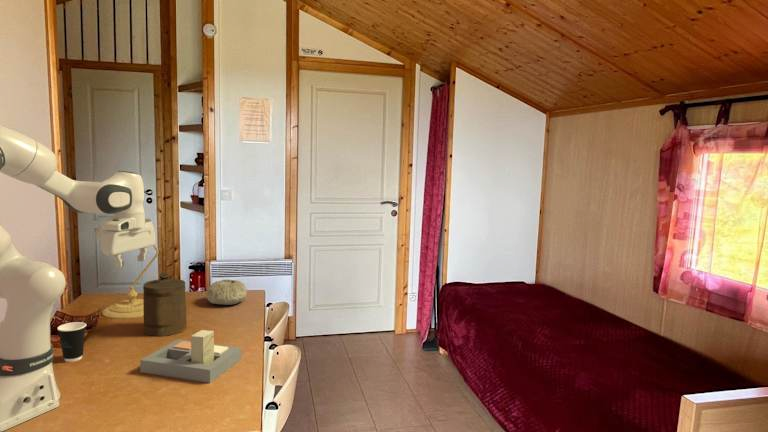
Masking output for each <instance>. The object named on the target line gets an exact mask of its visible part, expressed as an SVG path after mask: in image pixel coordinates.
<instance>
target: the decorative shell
mask: <svg viewBox="0 0 768 432" xmlns="http://www.w3.org/2000/svg"><path fill="white" fill-rule="evenodd" d="M247 293H248V288H246V285H245V283H242V282H241V281H240V280H237V279H222V280H219V281H217V280H216V281H215V282H212V283H211V284H210V285H209V287H207V288H206V291H205V298H206V300H207V301H209V302H210V303H211V304H215V305H224V306H230V305H231V306H233V305H237V304H238V303H241V302H243V300H244V299H246V296H247Z"/></svg>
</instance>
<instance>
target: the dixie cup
mask: <svg viewBox="0 0 768 432" xmlns="http://www.w3.org/2000/svg"><path fill="white" fill-rule="evenodd" d="M86 327H87V323H85V322H81V321H74V322H67V323H63V324H60V325H59V326H58V327H57V329H56V330H57V331H58V336H59V341H60V346H61V352H62V356H63V359H64V361H65V363H67V362H68V363H69V362H71V363H72V362H76V361H77V362H78V361H80V360H81V359H82V358H83V355H84V349H85V338H86V337H85V335H86Z"/></svg>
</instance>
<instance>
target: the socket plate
mask: <svg viewBox="0 0 768 432" xmlns="http://www.w3.org/2000/svg"><path fill="white" fill-rule="evenodd" d="M241 360H242V347H241V346H234V345H233V346H231V345H224V344H218V343H217V344H216V343H214V361H213V362H212V363H210V364H209V365H208V364H201V363H194V362H191V340H187V339H180V338H178V339H175V340H173V341H172V342H169V343H168V344H166V345H165V346H162V347H161V348H159V349H158V350H156V351H154V352H152V353H150V354H148V355H147V356H145V357H143V358H141V359H139V362H140V364H139V366H140V369H139V370H140V373H144V374H149V375H157V376H163V377H169V378H175V379H180V380H181V379H182V380H188V381H196V382H202V383H207V384H211V383H212V382H213V381H215V380H216V379H217V378H219V377H220V376H221V375H223V374H224V373H225V372H226V371H228V370H230V368H232V367H233V366H235V364H237V363H239V361H241Z"/></svg>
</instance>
